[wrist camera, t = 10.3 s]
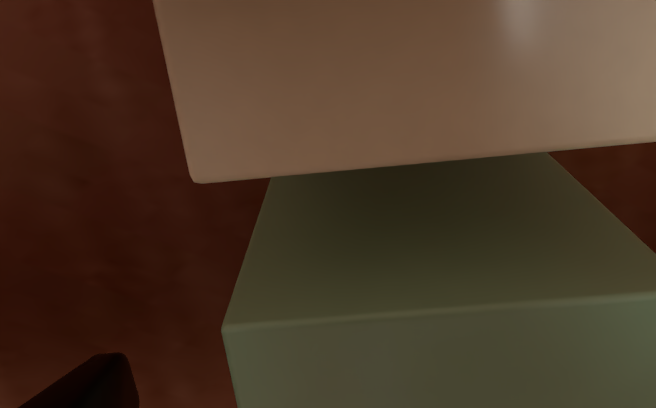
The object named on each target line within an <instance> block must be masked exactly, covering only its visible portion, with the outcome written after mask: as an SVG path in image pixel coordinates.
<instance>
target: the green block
mask: <svg viewBox="0 0 656 408" xmlns="http://www.w3.org/2000/svg"><path fill="white" fill-rule="evenodd" d="M221 332H222V337H223V342H224V346H225V351H226V356H227V360H228V365H229V370H230V374H231V379H232V383H233V388H234V393H235V397H236V402H237V407H238V408H656V254H655V253H654V252H653V251H652V250H651V249H650V248H649V247H648V246H647V245H646V244H645V243H644V242H642V241H641V240H640V239H639V238H638V237H637V236H636V235H635V234H634V233H633V232H632V231H631V230H630V229H629V228H627V227H626V226H625V225H624V224H623V223H622V222H621V221H620V220H619V219H618V218H617V217H616V216H615V215H614V214H612V213H611V212H610V211H609V210H608V209H607V208H606V207H605V206H604V205H603V204H602V203H601V202H600V201H599V200H597V199H596V198H595V197H594V196H593V195H592V194H591V193H590V192H589V191H588V190H587V189H586V188H585V187H584V186H582V185H581V184H580V183H579V182H578V181H577V180H576V179H575V178H574V177H573V176H572V175H571V174H570V173H569V172H567V171H566V170H565V169H564V168H563V167H562V166H561V165H560V164H559V163H558V162H557V161H556V160H555V159H554V158H553V157H551V156H550V155H549V154H548V153H547V152H540V153H530V154H519V155H508V156H497V157H486V158H476V159H465V160H454V161H443V162H432V163H422V164H411V165H400V166H389V167H378V168H368V169H357V170H346V171H335V172H324V173H313V174H303V175H292V176H281V177H271V179H270V183H269V186H268V189H267V192H266V195H265V198H264V201H263V204H262V207H261V210H260V213H259V216H258V219H257V222H256V225H255V228H254V231H253V234H252V237H251V240H250V243H249V246H248V249H247V252H246V255H245V258H244V261H243V264H242V267H241V270H240V273H239V276H238V279H237V282H236V285H235V288H234V291H233V294H232V297H231V300H230V303H229V306H228V309H227V312H226V315H225V318H224V321H223V324H222V327H221Z"/></svg>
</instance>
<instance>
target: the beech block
mask: <svg viewBox="0 0 656 408" xmlns="http://www.w3.org/2000/svg"><path fill="white" fill-rule="evenodd" d="M152 1H153V5H154V10H155V15H156V19H157V24H158V29H159V33H160V38H161V43H162V48H163V52H164V57H165V62H166V66H167V71H168V76H169V80H170V85H171V90H172V95H173V99H174V104H175V109H176V113H177V118H178V123H179V127H180V132H181V137H182V142H183V146H184V151H185V156H186V160H187V165H188V170H189V174H190V176H191V178H192V180H193V182H195V183H200V184H205V183H216V182H227V181H238V180H249V179H259V178H270V177H281V176H292V175H303V174H313V173H324V172H335V171H346V170H357V169H368V168H378V167H389V166H400V165H411V164H422V163H432V162H443V161H454V160H465V159H476V158H486V157H497V156H508V155H519V154H530V153H540V152H551V151H562V150H573V149H584V148H595V147H605V146H616V145H627V144H638V143H649V142H656V0H152Z"/></svg>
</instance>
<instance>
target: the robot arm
mask: <svg viewBox="0 0 656 408" xmlns="http://www.w3.org/2000/svg"><path fill="white" fill-rule="evenodd" d="M18 408H139V395H138V391H137V388H136V384H135V381H134V378H133V374H132V371H131V368H130V364H129V361H128V359H127V357H126V356H125V355H124V354H123V353H120V352H118V353H104V354H97V355H94V356H93V357H91V358H90V359H88V360H87V361H85V362H84V363H82V364H81V365H79V366H78V367H77V368H75V369H74V370H72V371H71V372H69V373H68V374H66V375H65V376H63V377H62V378H61V379H59V380H58V381H56V382H55V383H53V384H52V385H50V386H49V387H47V388H46V389H44V390H43V391H42V392H40V393H39V394H37V395H36V396H34V397H33V398H31V399H30V400H28V401H27V402H26V403H24V404H23V405H21V406H20V407H18Z"/></svg>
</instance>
